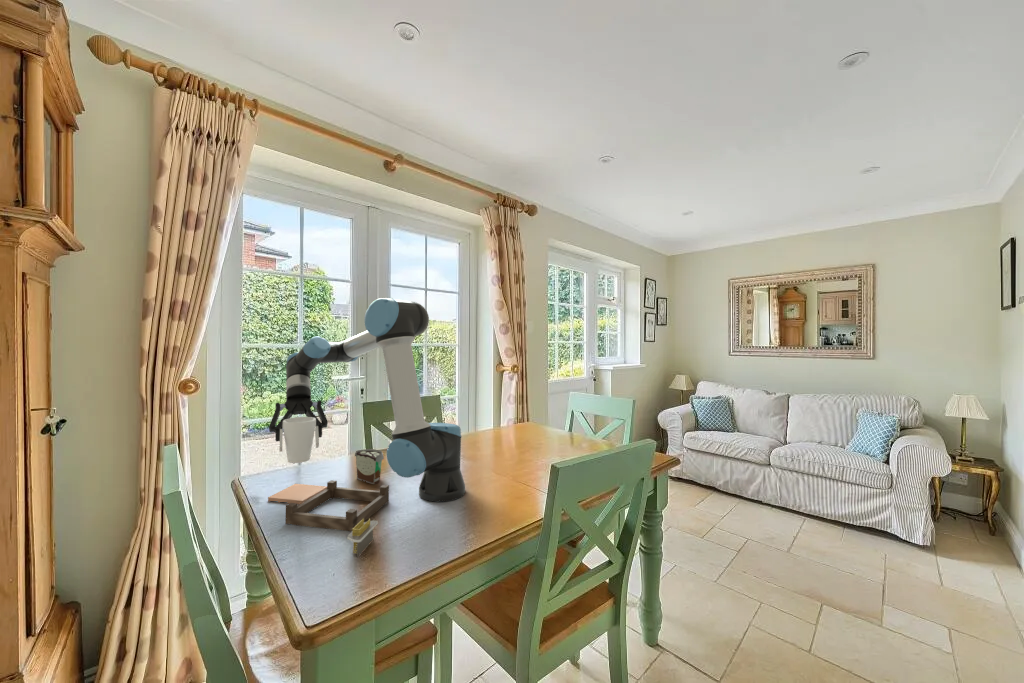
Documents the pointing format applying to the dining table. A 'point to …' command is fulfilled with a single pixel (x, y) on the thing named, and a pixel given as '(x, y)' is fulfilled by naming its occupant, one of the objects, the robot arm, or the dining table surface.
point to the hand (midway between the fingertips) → (299, 447)
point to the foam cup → (299, 438)
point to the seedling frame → (303, 518)
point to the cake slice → (369, 465)
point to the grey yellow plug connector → (362, 535)
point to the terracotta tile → (297, 493)
